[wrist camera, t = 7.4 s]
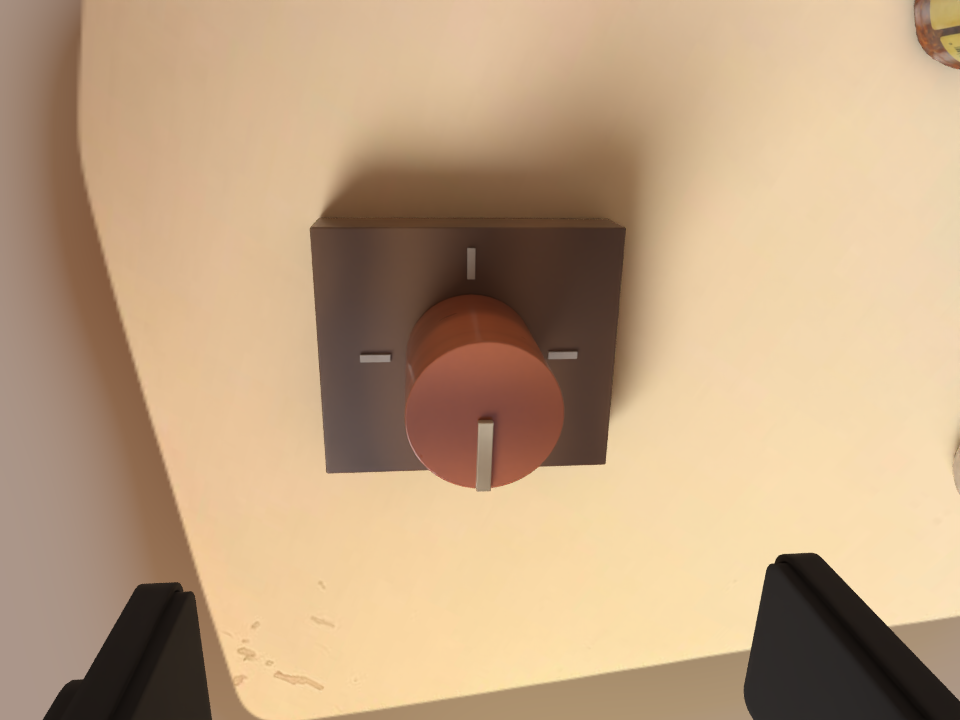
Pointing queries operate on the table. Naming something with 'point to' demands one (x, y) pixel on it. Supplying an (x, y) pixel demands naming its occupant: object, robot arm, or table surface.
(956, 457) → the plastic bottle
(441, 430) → the rotary dial knob
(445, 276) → the dial base plate
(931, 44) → the sauce bottle
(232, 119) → the table surface
